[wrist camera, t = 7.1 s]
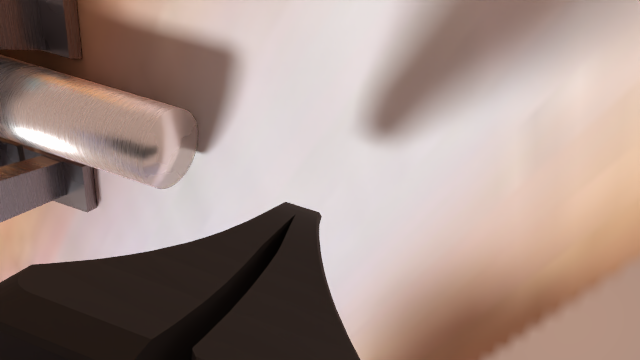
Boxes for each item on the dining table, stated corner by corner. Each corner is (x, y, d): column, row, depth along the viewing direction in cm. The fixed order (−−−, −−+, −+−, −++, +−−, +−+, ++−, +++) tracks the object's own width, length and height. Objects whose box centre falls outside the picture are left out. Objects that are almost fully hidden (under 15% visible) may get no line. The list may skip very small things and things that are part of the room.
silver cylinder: (205, 112, 14) (153, 101, 10) (188, 184, 14) (134, 195, 11) (-43, 39, 15) (-163, 7, 12) (-50, 107, 16) (-167, 96, 12)
